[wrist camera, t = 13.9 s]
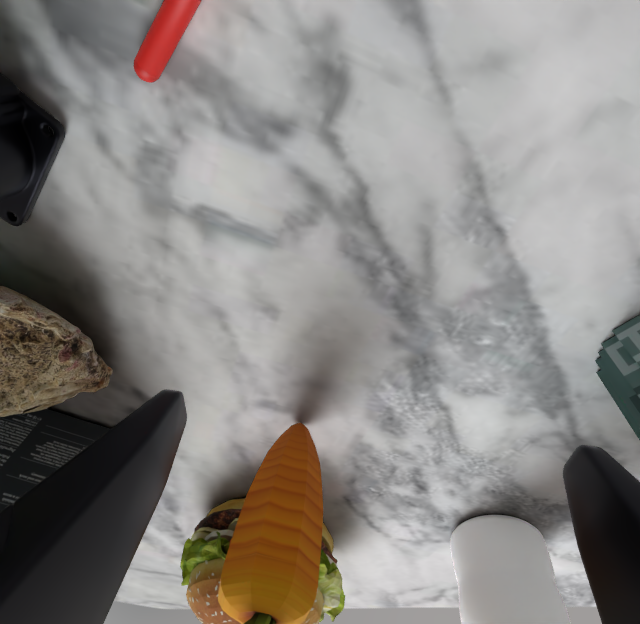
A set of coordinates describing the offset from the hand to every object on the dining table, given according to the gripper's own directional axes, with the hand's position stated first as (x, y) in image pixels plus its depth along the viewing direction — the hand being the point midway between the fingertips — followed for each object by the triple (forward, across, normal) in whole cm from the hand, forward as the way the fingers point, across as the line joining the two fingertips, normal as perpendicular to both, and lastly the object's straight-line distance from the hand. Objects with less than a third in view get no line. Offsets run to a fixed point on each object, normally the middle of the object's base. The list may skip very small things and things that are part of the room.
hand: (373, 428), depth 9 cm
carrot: (+12, +3, +15) cm, 19 cm away
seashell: (+12, +20, +9) cm, 25 cm away
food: (+12, +4, +30) cm, 33 cm away
